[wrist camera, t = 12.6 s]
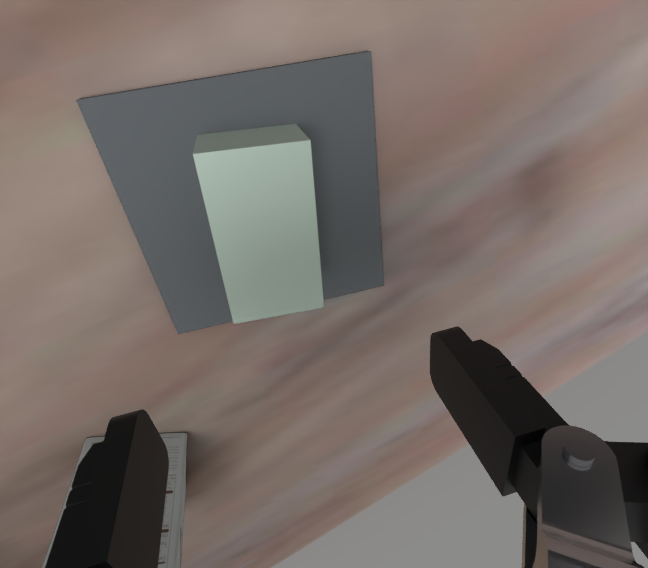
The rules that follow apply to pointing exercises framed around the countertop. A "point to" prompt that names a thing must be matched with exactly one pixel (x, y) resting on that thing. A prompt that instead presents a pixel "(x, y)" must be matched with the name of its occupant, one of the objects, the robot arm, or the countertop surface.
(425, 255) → the countertop surface
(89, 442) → the supplement box
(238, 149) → the box
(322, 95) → the mat
